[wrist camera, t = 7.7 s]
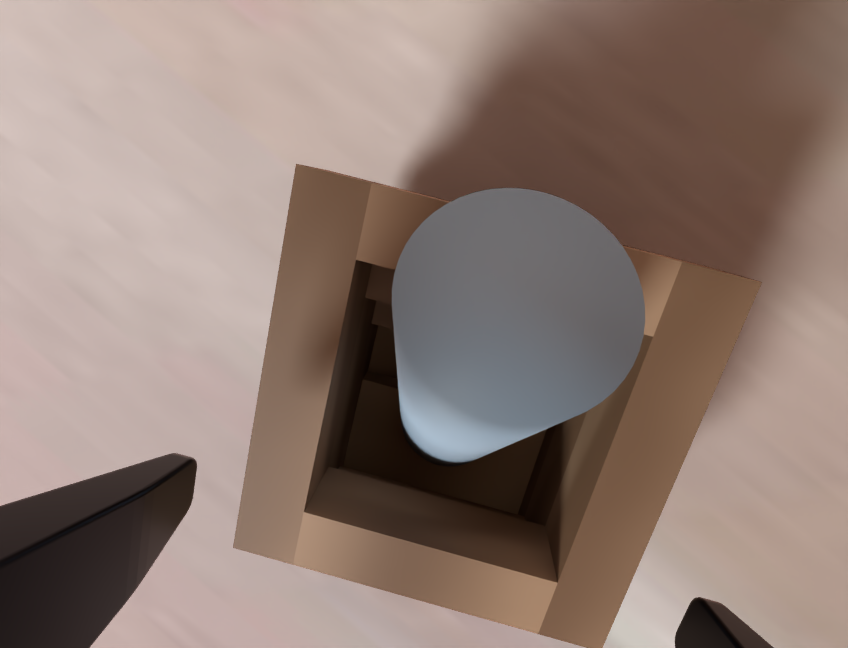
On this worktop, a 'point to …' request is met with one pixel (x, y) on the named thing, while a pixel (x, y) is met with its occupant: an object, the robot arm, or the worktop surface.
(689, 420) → the leaning socket
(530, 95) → the worktop surface
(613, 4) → the worktop surface
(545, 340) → the gray dowel
